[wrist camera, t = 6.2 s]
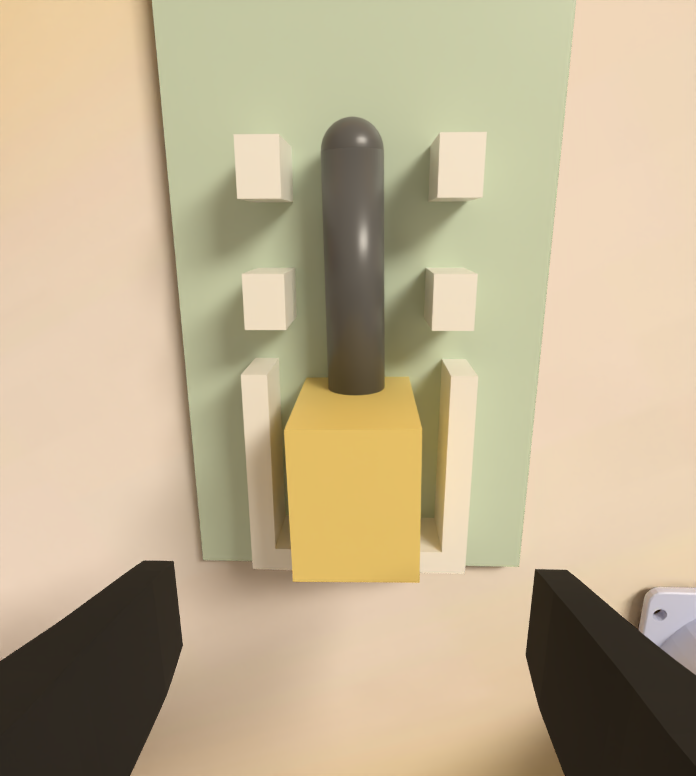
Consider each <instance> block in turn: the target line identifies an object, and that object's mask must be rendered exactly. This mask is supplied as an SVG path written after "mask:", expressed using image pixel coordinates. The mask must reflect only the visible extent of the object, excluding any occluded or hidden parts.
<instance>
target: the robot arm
mask: <svg viewBox="0 0 696 776" xmlns="http://www.w3.org/2000/svg"><path fill="white" fill-rule="evenodd" d="M660 609H661V611H660V612H658V613H656V614H654V612H655V611H657V610H660ZM182 646H183V643H182V634H181V624H180V615H179V606H178V597H177V588H176V579H175V569H174V561H143V562H141V563H140V564H138V565H136V566H135V567H134V568H132V569H131V570H129V571H128V572H126V573H125V574H124V575H122V576H121V577H120V578H118V579H117V580H115V581H114V582H113V583H111V584H110V585H109V586H107V587H106V588H105V589H103V590H102V591H101V592H99V593H98V594H97V595H95V596H94V597H92V598H91V599H90V600H88V601H87V602H86V603H84V604H83V605H81V606H80V607H79V608H77V609H76V610H75V611H73V612H72V613H70V614H69V615H68V616H66V617H65V618H63V619H62V620H61V621H59V622H58V623H56V624H55V625H54V626H52V627H51V628H49V629H48V630H46V631H45V632H43V633H42V634H40V635H39V636H37V637H36V638H34V639H33V640H31V641H30V642H28V643H27V644H25V645H24V646H22V647H21V648H19V649H18V650H16V651H15V652H13V653H12V654H10V655H9V656H7V657H6V658H4V659H3V660H1V661H0V776H130V775H131V772H132V770H133V768H134V766H135V764H136V762H137V760H138V757H139V755H140V753H141V751H142V749H143V747H144V744H145V742H146V740H147V738H148V736H149V734H150V731H151V729H152V727H153V725H154V723H155V720H156V718H157V716H158V714H159V712H160V709H161V707H162V705H163V703H164V700H165V698H166V696H167V693H168V690H169V687H170V684H171V681H172V678H173V675H174V672H175V669H176V665H177V662H178V659H179V656H180V652H181V649H182ZM526 658H527V662H528V666H529V671H530V675H531V679H532V683H533V687H534V691H535V694H536V698H537V702H538V706H539V709H540V712H541V714H542V717H543V720H544V723H545V725H546V728H547V730H548V733H549V736H550V738H551V741H552V744H553V746H554V749H555V752H556V754H557V757H558V759H559V762H560V765H561V767H562V770H563V772H564V775H565V776H696V588H681V587H656V588H653V589H651V590H649V591H648V592H647V593H646V595H645V597H644V602H643V607H642V613H641V618H640V624H639V630H638V629H636V628H635V627H634V626H633V625H632V624H630V623H629V622H628V621H627V620H626V619H624V618H623V617H622V616H621V615H620V614H618V613H617V612H616V611H615V610H614V609H613V608H611V607H610V606H609V605H608V604H607V603H606V602H604V601H603V600H602V599H601V598H600V597H599V596H597V595H596V594H595V593H594V592H593V591H592V590H590V589H589V588H588V587H587V586H586V585H585V584H583V583H582V582H581V581H580V580H579V579H578V578H576V577H575V576H574V575H573V574H571V573H570V572H569V571H568V570H546V569H535V575H534V585H533V594H532V603H531V612H530V621H529V630H528V639H527V648H526Z"/></svg>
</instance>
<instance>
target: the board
mask: <svg viewBox="0 0 696 776" xmlns="http://www.w3.org/2000/svg"><path fill="white" fill-rule="evenodd" d="M575 7H576V0H152V8H153V19H154V30H155V41H156V52H157V63H158V73H159V84H160V95H161V106H162V117H163V128H164V139H165V150H166V161H167V172H168V183H169V193H170V204H171V215H172V226H173V237H174V248H175V259H176V270H177V281H178V292H179V302H180V313H181V324H182V335H183V346H184V357H185V368H186V379H187V390H188V401H189V412H190V422H191V433H192V444H193V455H194V466H195V477H196V488H197V499H198V510H199V521H200V532H201V542H202V553H203V560H219V561H252V565H253V569H261V570H292V557H291V541H290V524H289V507H288V490H287V473H286V456H285V440H284V429H285V426H286V424H287V422H288V419H289V417H290V415H291V412H292V410H293V408H294V405H295V403H296V401H297V398H298V396H299V394H300V391H301V389H302V387H303V384H304V382H305V380H306V378H315V377H328V361H327V331H326V302H325V272H324V242H323V212H322V183H321V153H320V152H321V143H322V139H323V137H324V135H325V132H326V131H327V130H328V128H329V127H330V126H331V125H332V124H333V123H334V122H336V121H338V120H339V119H342V118H345V117H350V116H355V117H360V118H363V119H365V120H367V121H369V122H370V123H371V124H373V125H374V126H375V128H376V129H377V130H378V132H379V134H380V136H381V138H382V141H383V145H384V321H385V377H409V379H410V383H411V387H412V391H413V395H414V399H415V403H416V406H417V410H418V414H419V418H420V422H421V426H422V473H421V527H420V573H444V574H465V566H502V567H519V562H520V552H521V542H522V532H523V522H524V512H525V503H526V493H527V483H528V473H529V463H530V453H531V443H532V433H533V423H534V413H535V403H536V394H537V384H538V374H539V364H540V354H541V344H542V334H543V324H544V314H545V304H546V294H547V285H548V275H549V265H550V255H551V245H552V235H553V225H554V215H555V205H556V195H557V186H558V176H559V166H560V156H561V146H562V136H563V126H564V116H565V106H566V96H567V86H568V77H569V67H570V57H571V47H572V37H573V27H574V17H575Z"/></svg>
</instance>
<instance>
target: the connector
mask: <svg viewBox="0 0 696 776" xmlns="http://www.w3.org/2000/svg"><path fill="white" fill-rule="evenodd" d="M320 153H321V183H322V212H323V242H324V272H325V302H326V331H327V361H328V377H315V378H306V380H305V382H304V384H303V387H302V389H301V391H300V394H299V396H298V398H297V401H296V403H295V405H294V408H293V410H292V412H291V415H290V417H289V419H288V422H287V424H286V426H285V429H284V440H285V456H286V473H287V490H288V507H289V524H290V541H291V557H292V574H293V582H415V583H419V582H420V527H421V473H422V426H421V422H420V418H419V414H418V410H417V406H416V403H415V399H414V395H413V391H412V387H411V383H410V379H409V377H385V321H384V145H383V141H382V138H381V136H380V134H379V132H378V130H377V129H376V128H375V126H374V125H373V124H371V123H370V122H369V121H367V120H365V119H363V118H360V117H355V116H350V117H345V118H342V119H339V120H338V121H336V122H334V123H333V124H332V125H331V126H330V127H329V128H328V130H327V131H326V132H325V135H324V137H323V139H322V143H321V152H320Z"/></svg>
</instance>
